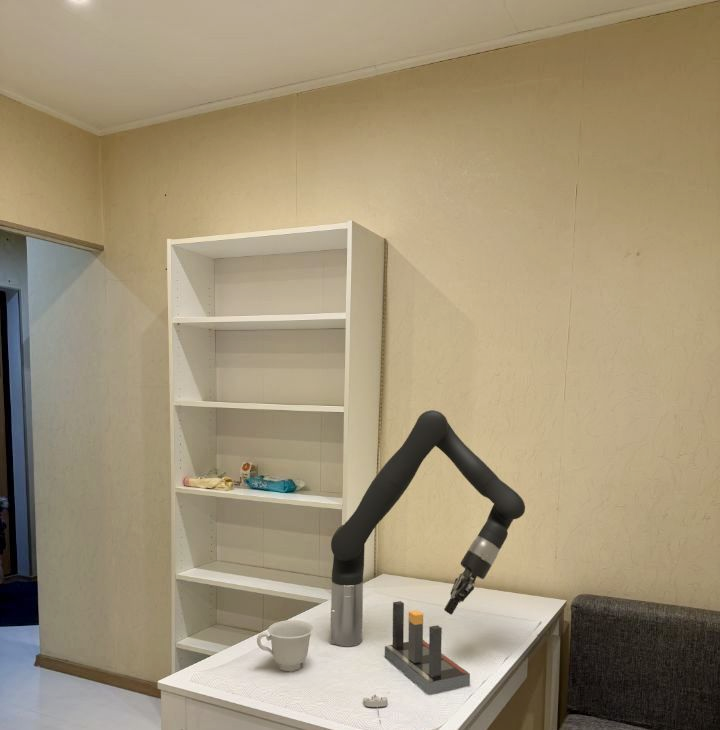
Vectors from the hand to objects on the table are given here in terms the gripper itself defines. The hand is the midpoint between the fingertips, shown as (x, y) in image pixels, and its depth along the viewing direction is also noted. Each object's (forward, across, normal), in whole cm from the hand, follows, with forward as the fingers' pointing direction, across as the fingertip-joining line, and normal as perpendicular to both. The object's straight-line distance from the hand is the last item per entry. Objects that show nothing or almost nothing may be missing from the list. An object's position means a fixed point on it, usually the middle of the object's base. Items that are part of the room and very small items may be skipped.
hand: (447, 612), depth 170 cm
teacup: (+36, -2, -29) cm, 46 cm away
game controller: (+28, +20, -7) cm, 35 cm away
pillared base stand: (+16, +2, +2) cm, 16 cm away
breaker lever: (+15, +3, -2) cm, 15 cm away
